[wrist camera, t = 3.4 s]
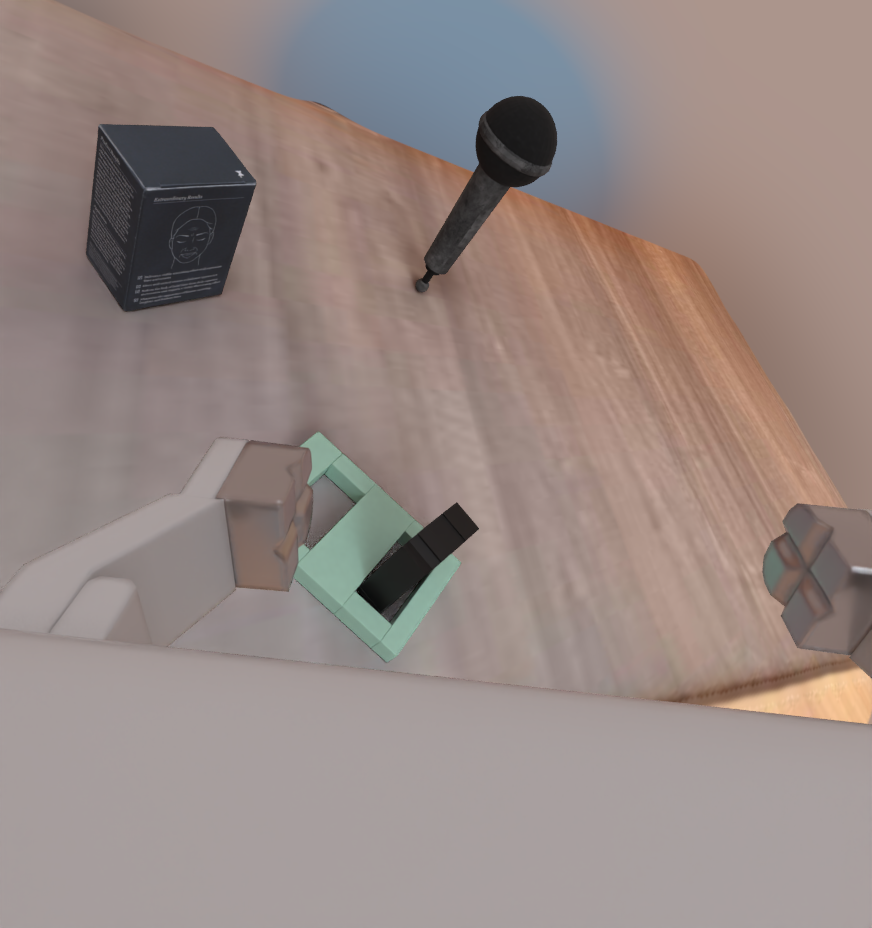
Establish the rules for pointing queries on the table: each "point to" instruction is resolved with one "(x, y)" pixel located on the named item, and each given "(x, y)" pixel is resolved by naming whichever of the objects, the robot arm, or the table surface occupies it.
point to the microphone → (495, 174)
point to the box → (165, 212)
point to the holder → (364, 555)
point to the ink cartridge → (417, 558)
